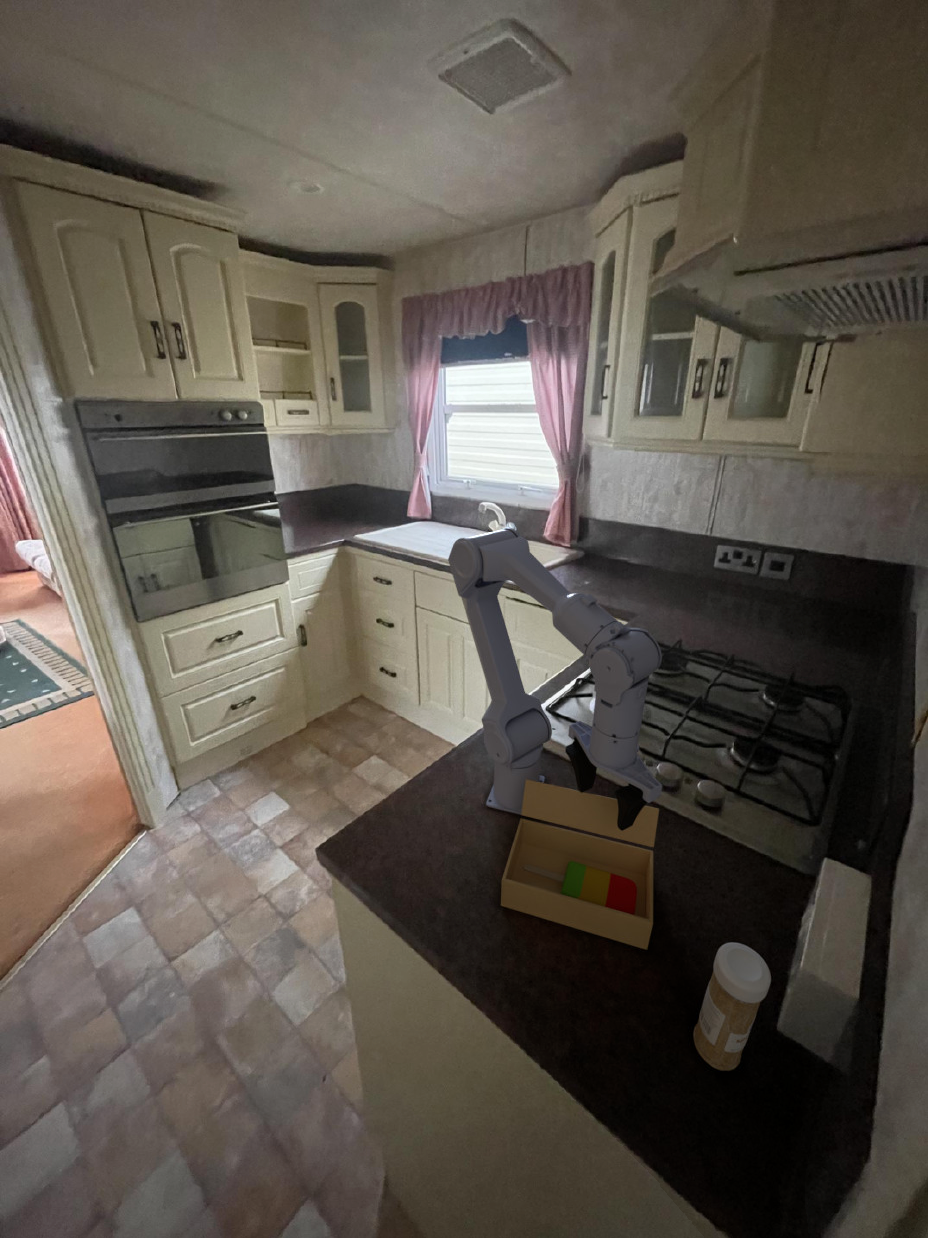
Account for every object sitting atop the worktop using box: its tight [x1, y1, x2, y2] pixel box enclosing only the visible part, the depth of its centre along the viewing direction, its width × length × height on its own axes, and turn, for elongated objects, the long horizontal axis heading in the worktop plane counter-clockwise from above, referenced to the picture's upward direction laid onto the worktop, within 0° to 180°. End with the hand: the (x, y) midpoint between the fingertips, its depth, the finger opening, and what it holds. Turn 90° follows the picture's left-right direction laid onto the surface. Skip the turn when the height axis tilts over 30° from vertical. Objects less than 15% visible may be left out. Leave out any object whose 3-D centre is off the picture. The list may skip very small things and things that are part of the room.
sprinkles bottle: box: [692, 942, 772, 1072], centre depth 50 cm, size 5×5×14 cm
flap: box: [520, 779, 660, 849], centre depth 72 cm, size 5×18×1 cm
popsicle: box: [523, 861, 637, 915], centre depth 69 cm, size 6×15×2 cm, turn 68°
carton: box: [500, 817, 654, 951], centre depth 68 cm, size 11×18×5 cm, turn 71°
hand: (604, 806), depth 69 cm, fingers open, 7 cm apart
